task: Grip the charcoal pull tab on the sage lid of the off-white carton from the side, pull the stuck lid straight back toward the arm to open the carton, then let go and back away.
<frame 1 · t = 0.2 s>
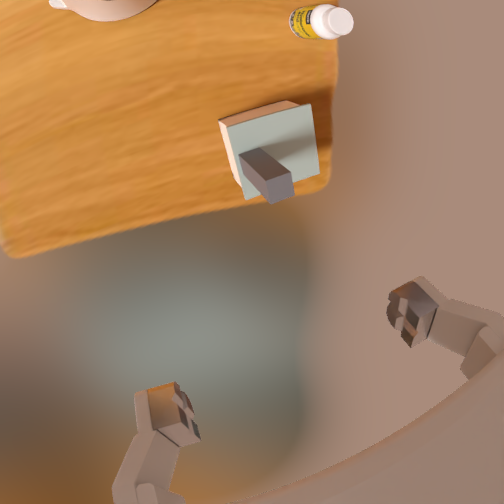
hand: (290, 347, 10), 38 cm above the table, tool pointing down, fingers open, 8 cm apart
carton: (259, 138, 46), on the table
supplement bottle: (303, 23, 37), on the table
carton lid: (292, 162, 38), point 11 cm above the table, slide at 0.0 cm
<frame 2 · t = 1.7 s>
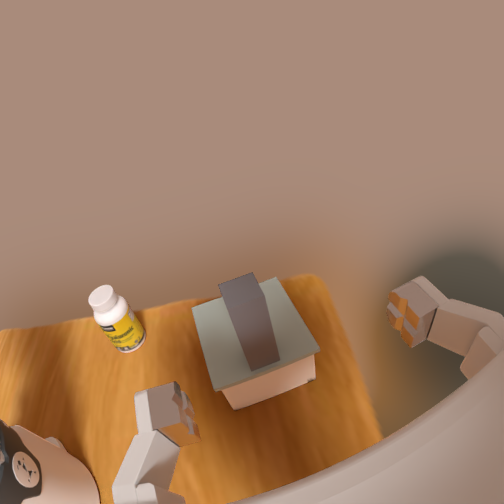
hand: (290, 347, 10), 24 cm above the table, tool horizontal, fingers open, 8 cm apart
carton: (260, 360, 37), on the table
supplement bottle: (131, 340, 44), on the table
carton lid: (239, 299, 31), point 11 cm above the table, slide at 0.0 cm
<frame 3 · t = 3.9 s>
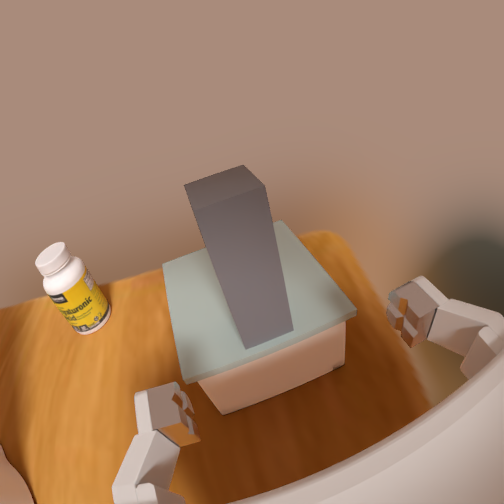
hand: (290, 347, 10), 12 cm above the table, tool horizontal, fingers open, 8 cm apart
carton: (260, 340, 26), on the table
supplement bottle: (94, 319, 33), on the table
carton lid: (226, 233, 19), point 11 cm above the table, slide at 0.0 cm
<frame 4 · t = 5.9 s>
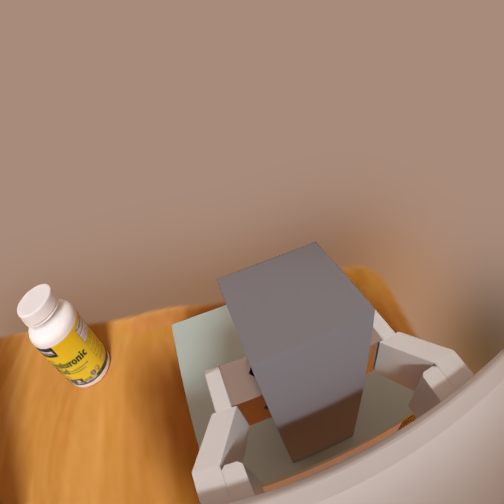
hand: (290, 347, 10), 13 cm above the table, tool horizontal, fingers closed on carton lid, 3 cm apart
carton: (293, 411, 20), on the table
supplement bottle: (91, 368, 27), on the table
carton lid: (267, 314, 14), point 11 cm above the table, slide at 0.0 cm, touching gripper
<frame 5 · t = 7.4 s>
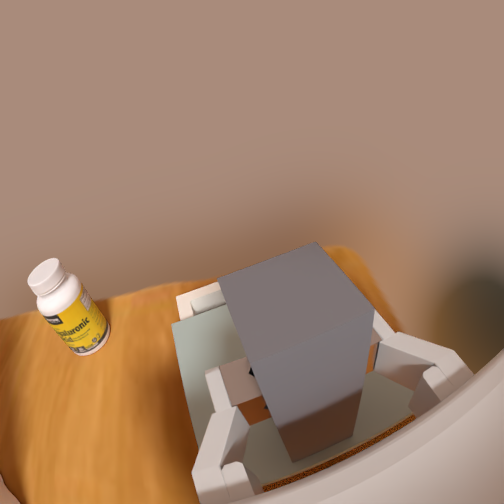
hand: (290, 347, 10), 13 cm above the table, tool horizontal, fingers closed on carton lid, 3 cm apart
carton: (273, 370, 23), on the table
supplement bottle: (92, 339, 30), on the table
carton lid: (267, 314, 14), point 11 cm above the table, slide at 4.0 cm, touching gripper
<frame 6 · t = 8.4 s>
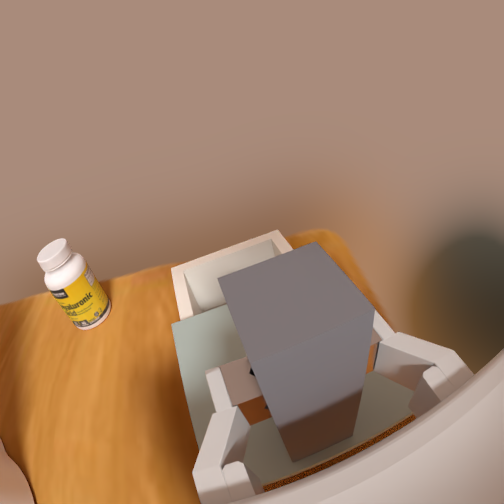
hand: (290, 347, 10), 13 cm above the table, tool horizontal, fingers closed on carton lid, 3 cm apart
carton: (257, 336, 26), on the table
supplement bottle: (94, 315, 33), on the table
carton lid: (267, 314, 14), point 11 cm above the table, slide at 7.9 cm, touching gripper
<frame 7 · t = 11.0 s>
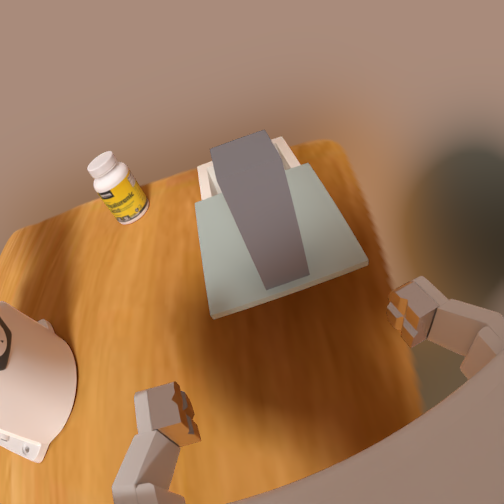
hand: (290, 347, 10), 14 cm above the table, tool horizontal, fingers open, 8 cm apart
carton: (264, 219, 34), on the table
supplement bottle: (134, 212, 43), on the table
carton lid: (252, 183, 21), point 11 cm above the table, slide at 7.9 cm
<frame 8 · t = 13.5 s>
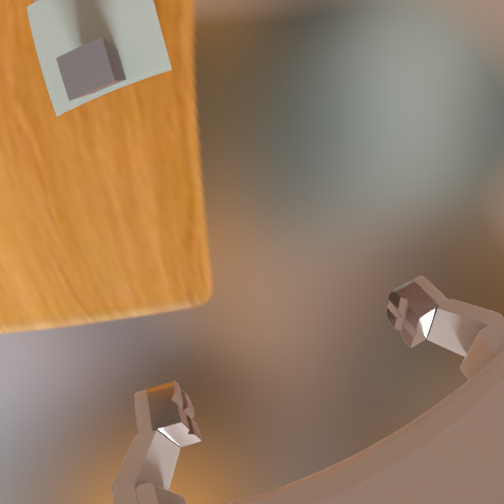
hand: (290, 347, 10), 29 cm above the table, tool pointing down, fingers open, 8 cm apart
carton lid: (85, 24, 15), point 11 cm above the table, slide at 7.9 cm
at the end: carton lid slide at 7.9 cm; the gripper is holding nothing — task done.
